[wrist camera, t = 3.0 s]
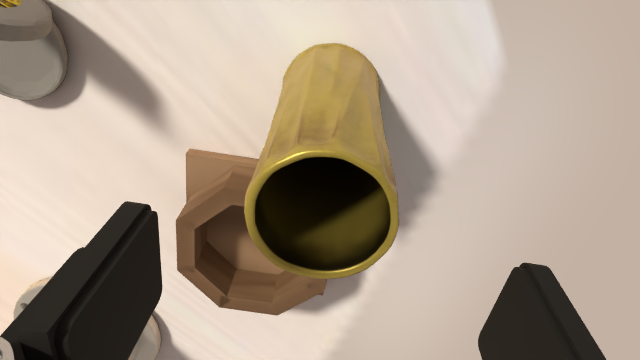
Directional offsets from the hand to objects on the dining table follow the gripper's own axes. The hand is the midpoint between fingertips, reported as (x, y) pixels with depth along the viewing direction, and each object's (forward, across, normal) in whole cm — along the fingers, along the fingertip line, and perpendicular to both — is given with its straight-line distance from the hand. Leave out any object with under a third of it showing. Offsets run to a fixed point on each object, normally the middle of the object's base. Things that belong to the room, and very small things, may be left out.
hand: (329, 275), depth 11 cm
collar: (+17, +4, +12) cm, 21 cm away
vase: (+17, 0, +1) cm, 17 cm away
